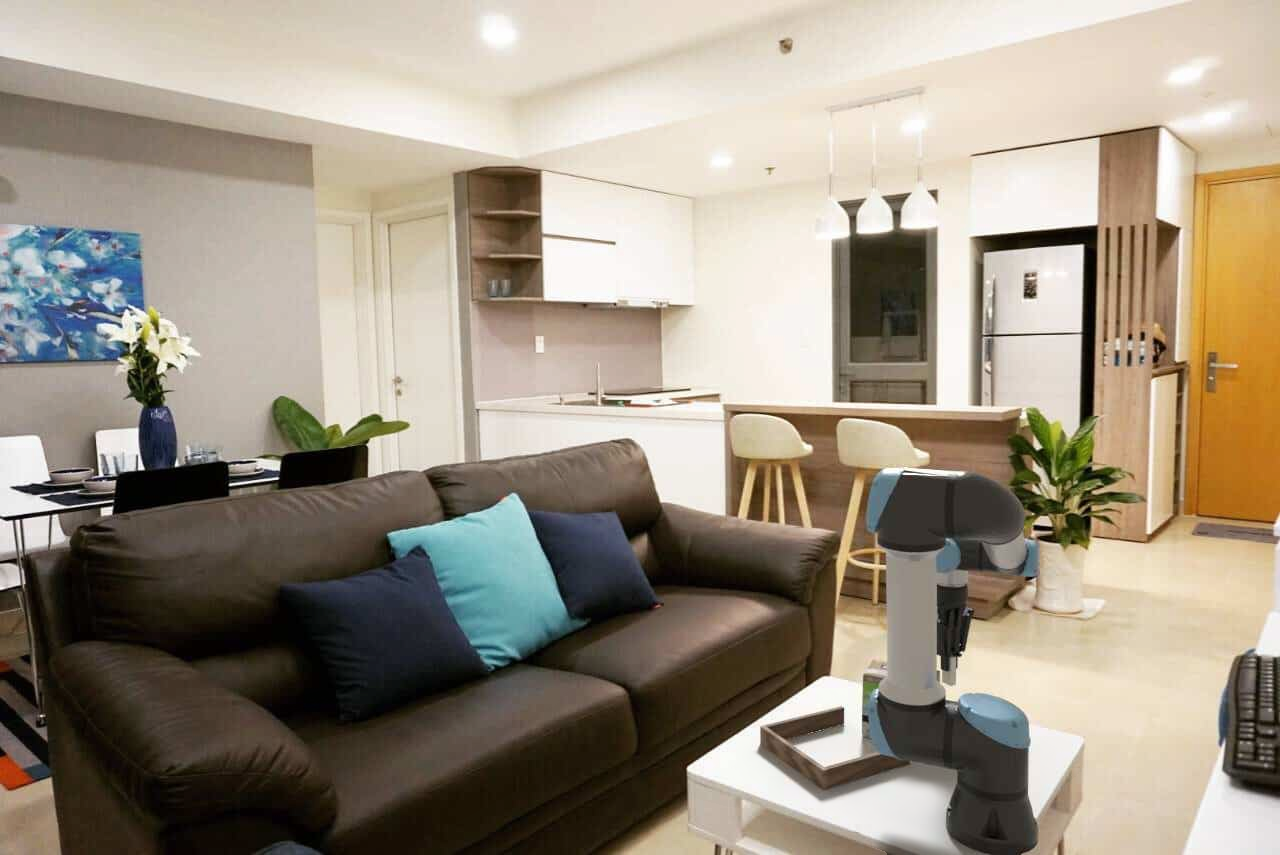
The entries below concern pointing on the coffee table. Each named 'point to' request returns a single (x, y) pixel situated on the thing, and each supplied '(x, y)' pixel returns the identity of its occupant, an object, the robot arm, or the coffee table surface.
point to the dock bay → (822, 776)
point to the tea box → (870, 683)
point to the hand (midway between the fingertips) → (948, 683)
